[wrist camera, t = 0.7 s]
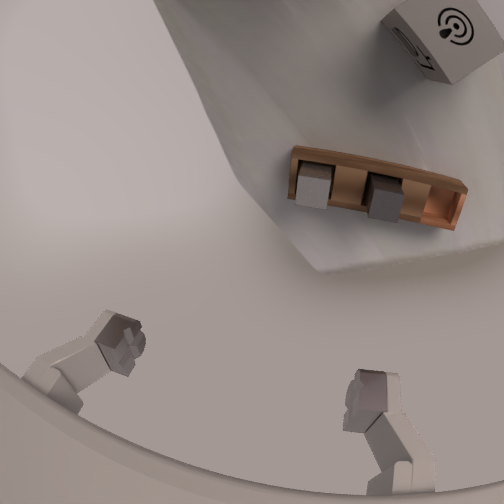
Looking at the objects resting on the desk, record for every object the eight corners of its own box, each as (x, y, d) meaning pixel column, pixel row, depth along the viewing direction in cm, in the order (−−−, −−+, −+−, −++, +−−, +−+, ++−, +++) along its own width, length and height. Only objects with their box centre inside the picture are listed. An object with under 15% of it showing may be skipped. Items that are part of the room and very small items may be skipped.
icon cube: (427, 79, 31) (452, 84, 23) (380, 20, 28) (394, 8, 20) (474, 48, 26) (508, 48, 18) (430, -10, 23) (454, -27, 15)
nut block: (303, 158, 42) (298, 175, 36) (331, 162, 41) (330, 180, 36) (300, 184, 44) (295, 204, 39) (327, 188, 43) (326, 209, 38)
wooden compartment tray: (294, 145, 42) (291, 152, 39) (460, 180, 37) (468, 189, 35) (290, 189, 46) (287, 198, 43) (447, 219, 41) (453, 230, 39)
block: (369, 169, 40) (374, 188, 35) (395, 175, 39) (404, 195, 34) (364, 194, 42) (368, 217, 37) (389, 200, 42) (396, 223, 36)
